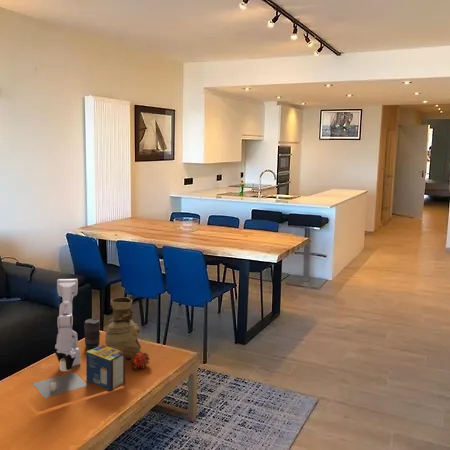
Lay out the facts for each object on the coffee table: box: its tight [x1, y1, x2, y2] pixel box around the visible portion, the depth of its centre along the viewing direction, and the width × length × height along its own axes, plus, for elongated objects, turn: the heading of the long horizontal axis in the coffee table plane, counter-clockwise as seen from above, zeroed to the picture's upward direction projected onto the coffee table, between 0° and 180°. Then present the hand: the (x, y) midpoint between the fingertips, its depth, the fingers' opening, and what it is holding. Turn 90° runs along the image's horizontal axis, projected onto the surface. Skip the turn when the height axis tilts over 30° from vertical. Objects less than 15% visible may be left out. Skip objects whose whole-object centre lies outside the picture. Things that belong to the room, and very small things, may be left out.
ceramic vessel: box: [105, 296, 142, 360], centre depth 262 cm, size 19×21×30 cm
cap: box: [58, 358, 72, 372], centre depth 230 cm, size 5×5×5 cm
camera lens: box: [83, 318, 101, 350], centre depth 269 cm, size 8×8×15 cm
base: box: [31, 371, 89, 399], centre depth 226 cm, size 20×16×4 cm
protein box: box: [85, 344, 126, 392], centre depth 230 cm, size 10×15×16 cm
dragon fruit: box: [130, 350, 150, 370], centre depth 248 cm, size 8×8×12 cm
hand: (65, 367), depth 230 cm, fingers closed on cap, 5 cm apart
